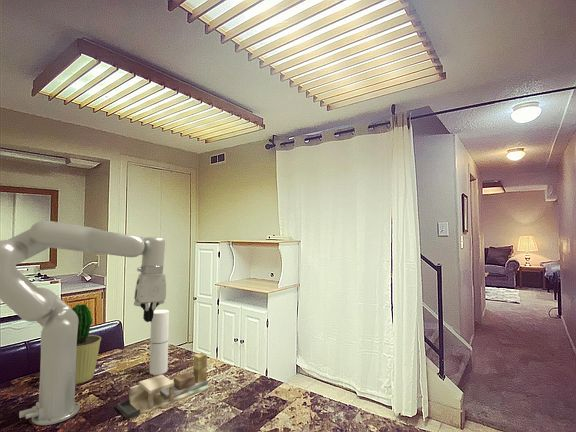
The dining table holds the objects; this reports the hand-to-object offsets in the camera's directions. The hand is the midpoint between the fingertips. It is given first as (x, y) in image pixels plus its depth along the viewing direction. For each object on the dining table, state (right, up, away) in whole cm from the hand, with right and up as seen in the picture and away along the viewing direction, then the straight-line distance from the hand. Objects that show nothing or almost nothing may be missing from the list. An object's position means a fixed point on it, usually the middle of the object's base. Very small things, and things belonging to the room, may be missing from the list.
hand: (148, 320), depth 121 cm
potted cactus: (-33, -27, +12) cm, 45 cm away
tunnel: (+7, -26, -4) cm, 27 cm away
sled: (+13, -26, +2) cm, 29 cm away
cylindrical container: (-4, -28, +19) cm, 34 cm away
